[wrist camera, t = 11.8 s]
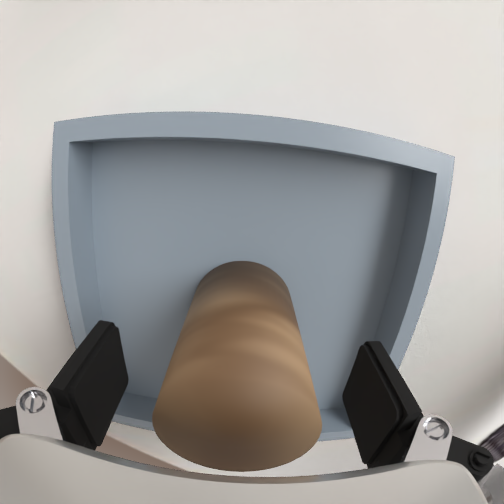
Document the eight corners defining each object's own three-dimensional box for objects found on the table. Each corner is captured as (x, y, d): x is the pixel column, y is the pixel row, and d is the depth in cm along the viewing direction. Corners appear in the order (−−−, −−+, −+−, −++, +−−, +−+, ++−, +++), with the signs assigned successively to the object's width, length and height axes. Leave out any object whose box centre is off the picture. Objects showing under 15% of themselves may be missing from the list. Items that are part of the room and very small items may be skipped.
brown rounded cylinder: (297, 264, 14) (342, 380, 6) (284, 347, 16) (302, 471, 8) (194, 256, 14) (139, 366, 6) (194, 340, 15) (163, 462, 8)
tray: (421, 154, 13) (454, 156, 10) (352, 407, 19) (362, 436, 16) (86, 125, 12) (54, 122, 10) (113, 390, 18) (100, 417, 15)
